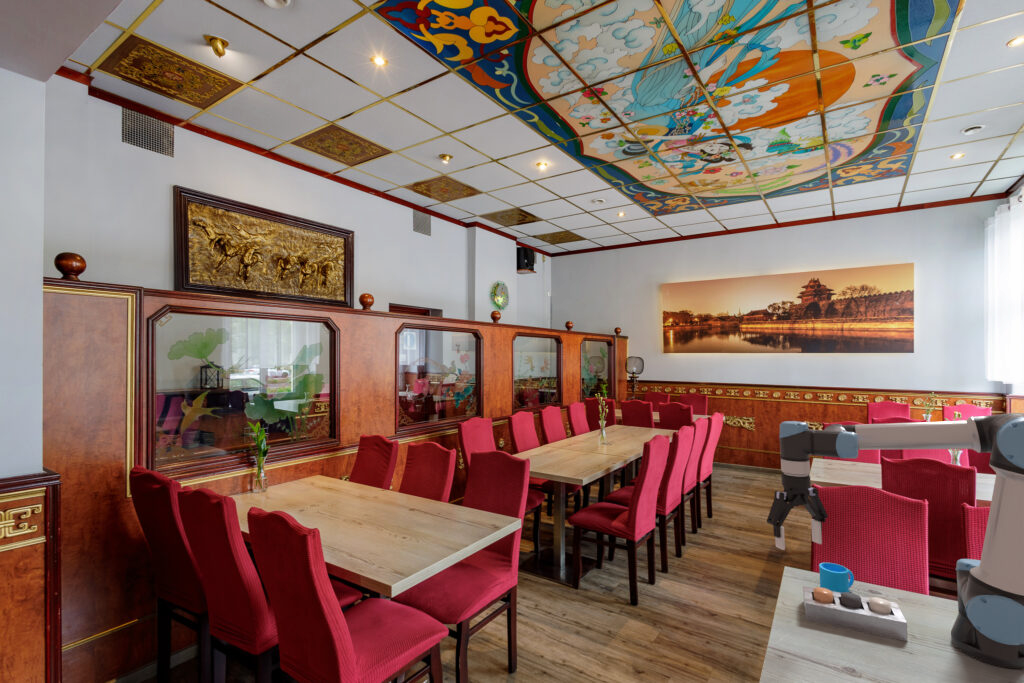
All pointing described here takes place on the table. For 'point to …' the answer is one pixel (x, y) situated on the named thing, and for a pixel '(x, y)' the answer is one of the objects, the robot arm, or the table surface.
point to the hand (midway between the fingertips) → (798, 545)
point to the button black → (850, 600)
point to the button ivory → (879, 605)
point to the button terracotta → (823, 595)
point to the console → (855, 616)
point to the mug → (835, 577)
